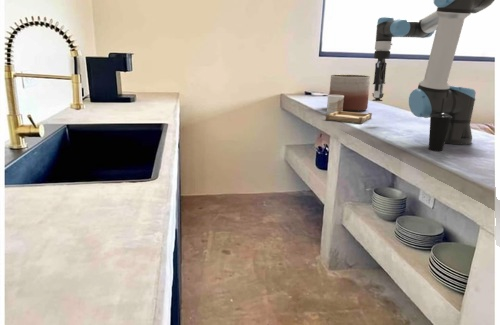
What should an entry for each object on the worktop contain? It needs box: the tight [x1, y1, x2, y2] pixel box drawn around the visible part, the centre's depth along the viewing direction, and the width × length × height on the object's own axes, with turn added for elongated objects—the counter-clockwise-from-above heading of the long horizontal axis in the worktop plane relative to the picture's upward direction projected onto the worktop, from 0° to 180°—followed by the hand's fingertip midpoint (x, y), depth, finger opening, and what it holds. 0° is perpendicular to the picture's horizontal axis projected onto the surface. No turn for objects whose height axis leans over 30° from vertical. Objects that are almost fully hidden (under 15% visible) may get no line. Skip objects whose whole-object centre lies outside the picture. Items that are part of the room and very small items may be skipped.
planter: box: [328, 74, 371, 113], centre depth 244 cm, size 25×25×22 cm
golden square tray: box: [325, 110, 373, 125], centre depth 210 cm, size 20×20×3 cm
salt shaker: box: [371, 79, 385, 102], centre depth 191 cm, size 6×6×12 cm
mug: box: [326, 94, 344, 114], centre depth 229 cm, size 10×12×11 cm
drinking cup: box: [428, 98, 452, 152], centre depth 142 cm, size 8×8×20 cm
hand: (377, 96), depth 192 cm, fingers closed on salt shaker, 6 cm apart
